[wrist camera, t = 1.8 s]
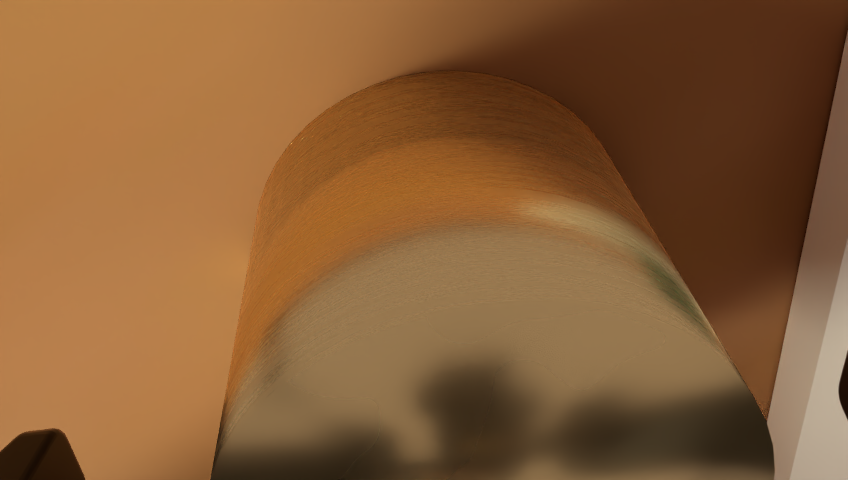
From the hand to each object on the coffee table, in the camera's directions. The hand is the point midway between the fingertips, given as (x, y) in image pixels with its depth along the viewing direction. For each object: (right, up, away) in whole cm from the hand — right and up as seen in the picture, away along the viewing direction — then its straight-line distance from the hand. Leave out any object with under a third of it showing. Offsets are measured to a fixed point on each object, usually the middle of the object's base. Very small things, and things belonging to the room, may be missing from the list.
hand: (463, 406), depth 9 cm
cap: (0, +2, +3) cm, 3 cm away
